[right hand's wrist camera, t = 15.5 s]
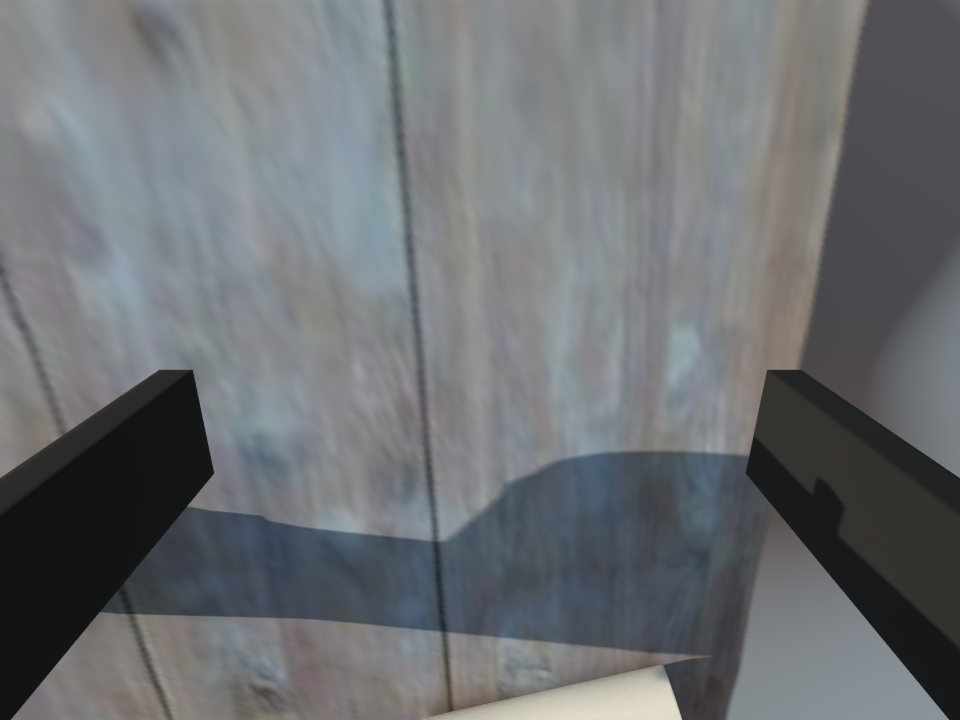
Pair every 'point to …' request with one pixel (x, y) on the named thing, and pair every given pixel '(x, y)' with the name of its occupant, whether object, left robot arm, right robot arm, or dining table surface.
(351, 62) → the dining table surface
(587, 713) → the paper towel roll
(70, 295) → the dining table surface
